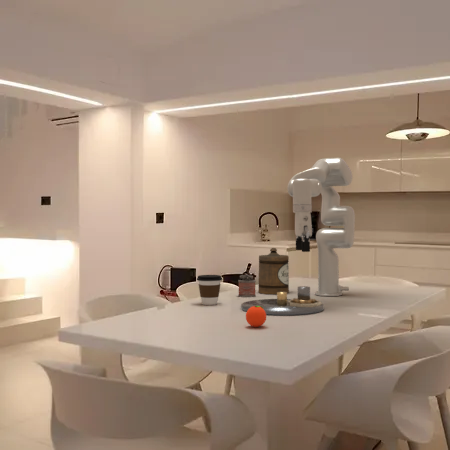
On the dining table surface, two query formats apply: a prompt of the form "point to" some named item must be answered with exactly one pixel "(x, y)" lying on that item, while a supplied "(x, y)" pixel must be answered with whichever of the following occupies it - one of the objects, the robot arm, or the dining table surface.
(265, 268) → the wooden container
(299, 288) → the gear
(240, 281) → the lighter
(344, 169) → the robot arm
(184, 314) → the dining table surface
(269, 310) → the carrier plate
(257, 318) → the clementine
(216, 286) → the coffee cup
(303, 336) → the dining table surface
